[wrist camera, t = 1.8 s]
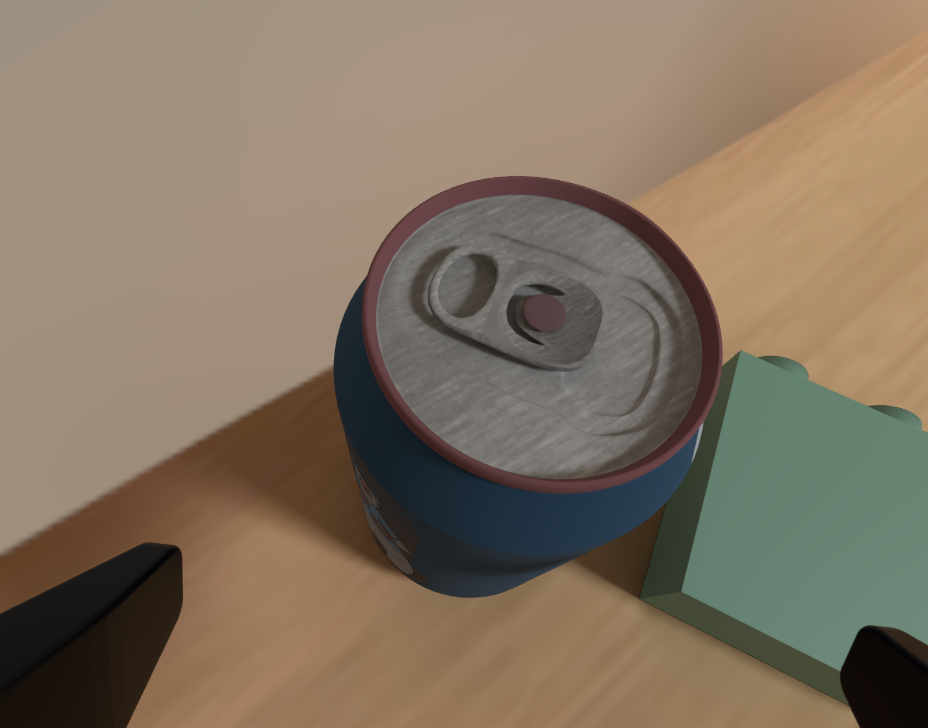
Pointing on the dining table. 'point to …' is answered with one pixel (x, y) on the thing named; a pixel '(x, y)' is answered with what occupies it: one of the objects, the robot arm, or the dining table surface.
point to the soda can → (521, 380)
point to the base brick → (796, 523)
